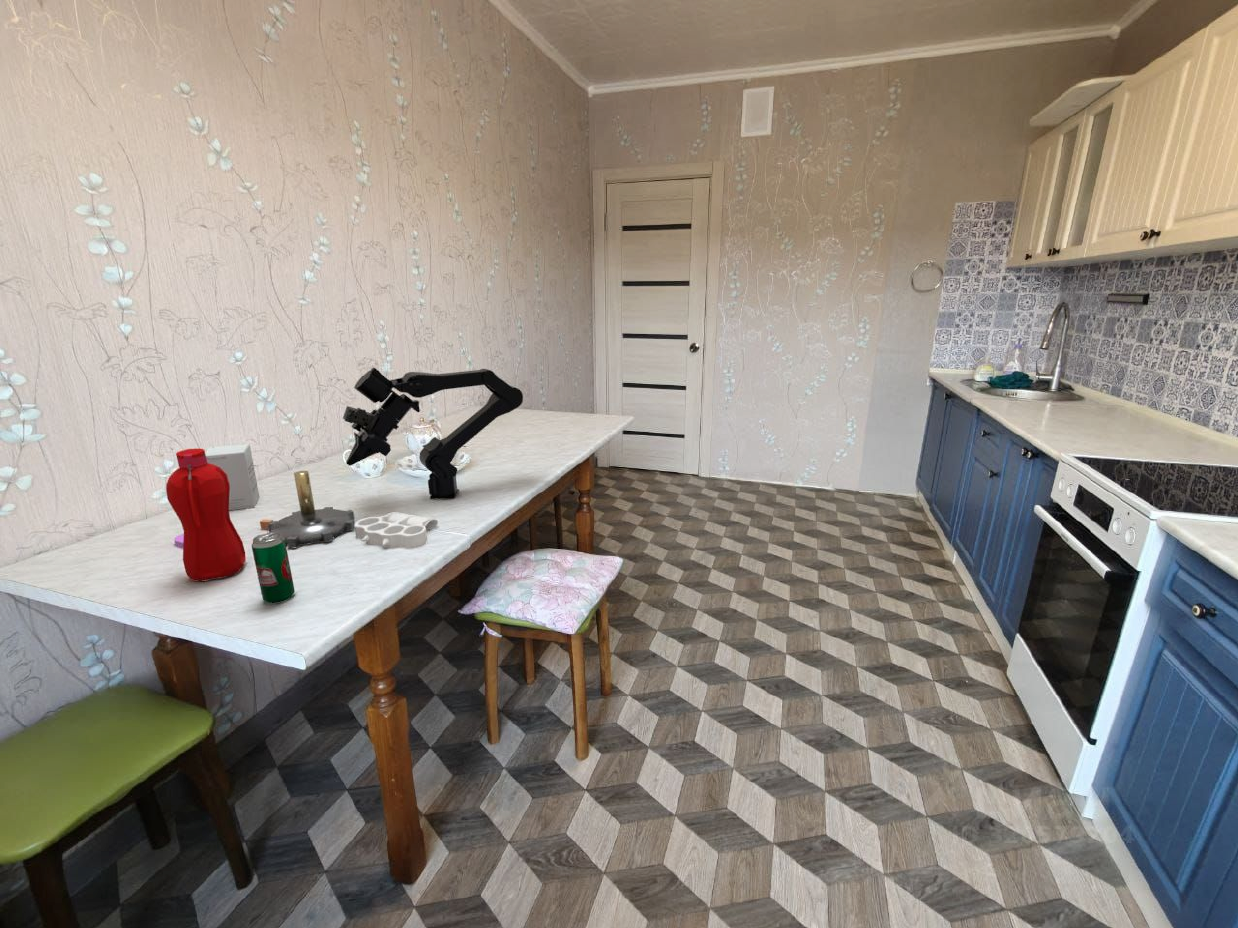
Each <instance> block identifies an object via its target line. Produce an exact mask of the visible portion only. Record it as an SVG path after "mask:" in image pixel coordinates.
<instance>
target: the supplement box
mask: <svg viewBox="0 0 1238 928" xmlns="http://www.w3.org/2000/svg"><path fill="white" fill-rule="evenodd" d="M251 450H252V448H251V444H250V443H244V444H231V445H230V444H229V445H222V446H221V445H220V446H211V447H208V449H207V450H206V451H205V454H206V459H207V463H210V464H213V465H216V466H218V467H220V468H221V469H222V470H223V471H224V472H225V473H226V475H227V478H228V481H229V485H230V493H229V511H235V510H245V509H252V508H253V509H254V508H256V506H257V504H258V502H259V499H260V493H259V492H260V491H259V488H258V481H257V478H256V477H257V476H256V472H255V471H256V470H255V466H254V461H253V455H252V451H251Z"/></svg>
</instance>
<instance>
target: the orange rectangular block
mask: <svg viewBox="0 0 1238 928" xmlns="http://www.w3.org/2000/svg"><path fill="white" fill-rule="evenodd" d="M271 521H274V520H273V519H262V520H260V521H259V524H260V528H261V530H264V531H269V529H268V524H269V523H270V522H271Z"/></svg>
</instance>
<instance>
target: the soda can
mask: <svg viewBox="0 0 1238 928" xmlns="http://www.w3.org/2000/svg"><path fill="white" fill-rule="evenodd" d="M268 532H269V531H268ZM268 532H264V533H261V534H259V535H256V536H255V537H253V539H252V544H251V551H252V554H253V559H254V563H255V564H254V565H255V570H256V574H257V579H258V583H259V588H260V592H261V593H260V594H261V598H262V600H263V601H264V602H266V603H268V604H278V603H279V604H280V603H283V602H285V601H287V600H290V598H291V597H292V596H294V594H295V592H296V589H295V586H294V579H293V574H292V568H291V565H290V560H289V554H288V549H287V548H288V547H287V545H286V543H285V539H284V538H283V537H282V536H281V533H278V532H269V533H268Z"/></svg>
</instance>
